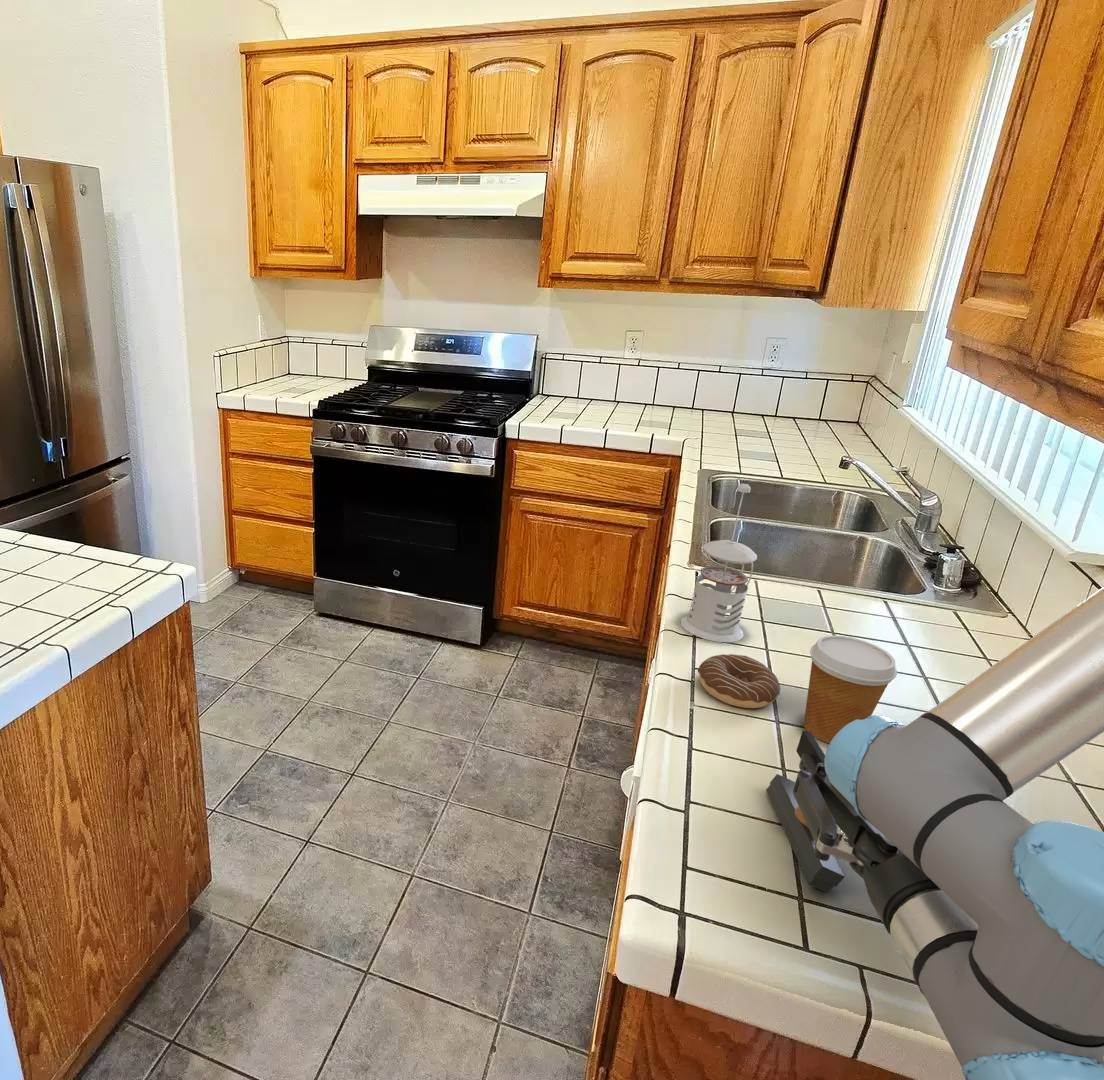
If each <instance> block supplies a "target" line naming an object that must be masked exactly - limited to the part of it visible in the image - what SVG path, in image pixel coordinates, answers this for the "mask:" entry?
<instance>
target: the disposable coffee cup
mask: <svg viewBox="0 0 1104 1080" xmlns="http://www.w3.org/2000/svg"><path fill="white" fill-rule="evenodd" d="M809 654H810V658H811V666H810V672H809V673H810V674H809V680H808V682H809V683H808V689H807V697H806V703H805V704H806V705H805V712H804V720H803V727H804V730H805V731H810V732H811V733H812V735H813V737H814V738H815V739H816V740H819V741H821V742H824V743H826V744H828V745H829V744H830V742H831V741H832V739H833V738H834V736H835V735H836V734H837V733H838V732H839V731H840V730H841V729H842V728H843V727H844V726H846V725H847V724H849V723H851V722H852V721H854V720H857V719H858V720H863V719H866V718H867V717H868V716H873V713H874V711H875V710H876V708H877V706H878V704H879V702H880V700H881V698H882V696H883V694H884V692H885V690H886V689H887V687H888V686H889V684H890V683H892V681H893V680H894V679H896V677H897V676H898V669H896V660H895V658H894V657H893V655H892V654H891V653H889V652H888V651H886V650H885V649H884V648H882V647H880V646H878V645H877V644H873V643H871V642H869V641H866V640H864V639H859V638H855V637H852V636H846V635H845V636H844V635H834V634H833V635H824V636H822V637H820V638H818V640H817V641H816V642H815V643H814V644H813V645H812V646H811V647H810V649H809Z"/></svg>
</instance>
